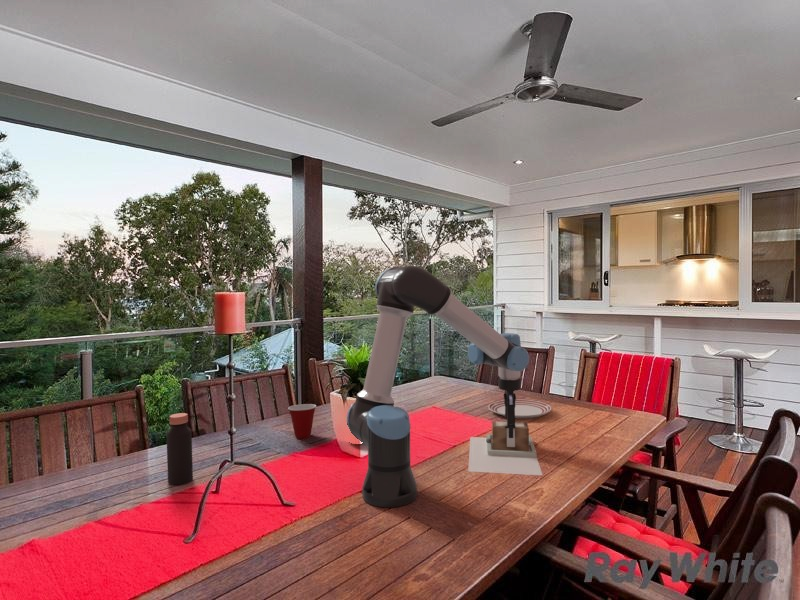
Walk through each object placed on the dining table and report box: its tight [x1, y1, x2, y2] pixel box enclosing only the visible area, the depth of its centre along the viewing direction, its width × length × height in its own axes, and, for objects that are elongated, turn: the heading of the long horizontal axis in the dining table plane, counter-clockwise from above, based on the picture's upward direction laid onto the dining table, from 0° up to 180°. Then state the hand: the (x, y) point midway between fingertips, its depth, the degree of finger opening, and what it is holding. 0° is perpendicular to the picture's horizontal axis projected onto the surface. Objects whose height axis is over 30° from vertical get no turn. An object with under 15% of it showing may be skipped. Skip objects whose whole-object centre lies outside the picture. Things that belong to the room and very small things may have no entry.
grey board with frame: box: [467, 433, 543, 476], centre depth 154 cm, size 22×32×3 cm
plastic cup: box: [287, 403, 317, 440], centre depth 176 cm, size 11×11×12 cm
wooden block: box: [491, 420, 530, 451], centre depth 160 cm, size 12×7×8 cm, turn 80°
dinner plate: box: [487, 398, 553, 420], centre depth 204 cm, size 27×27×3 cm
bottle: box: [166, 412, 194, 487], centre depth 137 cm, size 7×7×20 cm
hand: (510, 442), depth 160 cm, fingers open, 8 cm apart
